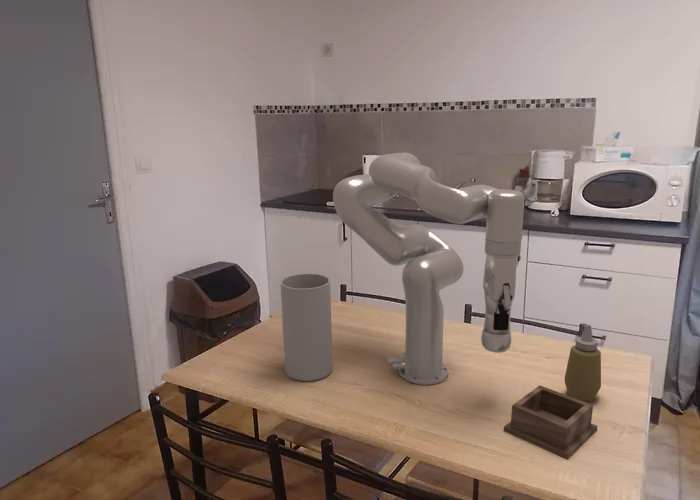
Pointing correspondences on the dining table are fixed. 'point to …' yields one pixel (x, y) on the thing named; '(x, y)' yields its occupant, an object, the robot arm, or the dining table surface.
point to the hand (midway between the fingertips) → (497, 323)
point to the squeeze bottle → (584, 368)
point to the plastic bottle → (490, 337)
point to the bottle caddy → (552, 421)
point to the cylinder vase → (307, 326)
